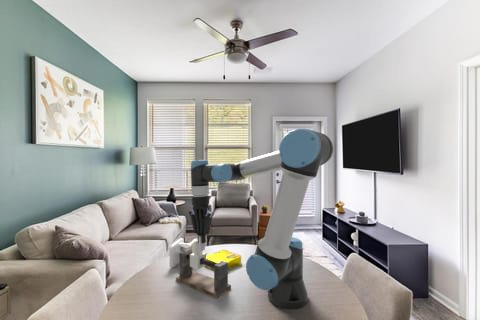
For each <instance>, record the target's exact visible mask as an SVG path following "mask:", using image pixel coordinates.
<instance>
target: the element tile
mask: <svg viewBox="0 0 480 320" xmlns="http://www.w3.org/2000/svg"><path fill="white" fill-rule="evenodd" d="M207 260H208V261H212V262H215V263H219V262H221V261H225V262H228V271H229V270H232V269H233V268H236V267H238V266H240V265H241V264H242V255H240V254H237V253H235V252H232V251H229V250H227V249H220V250H218V251H217V250H216V251H215V252H212V253H209V254H207ZM205 267H208V268H210V269H212V270H214V268H213V267H210V266H207V265H206V266H205Z"/></svg>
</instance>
